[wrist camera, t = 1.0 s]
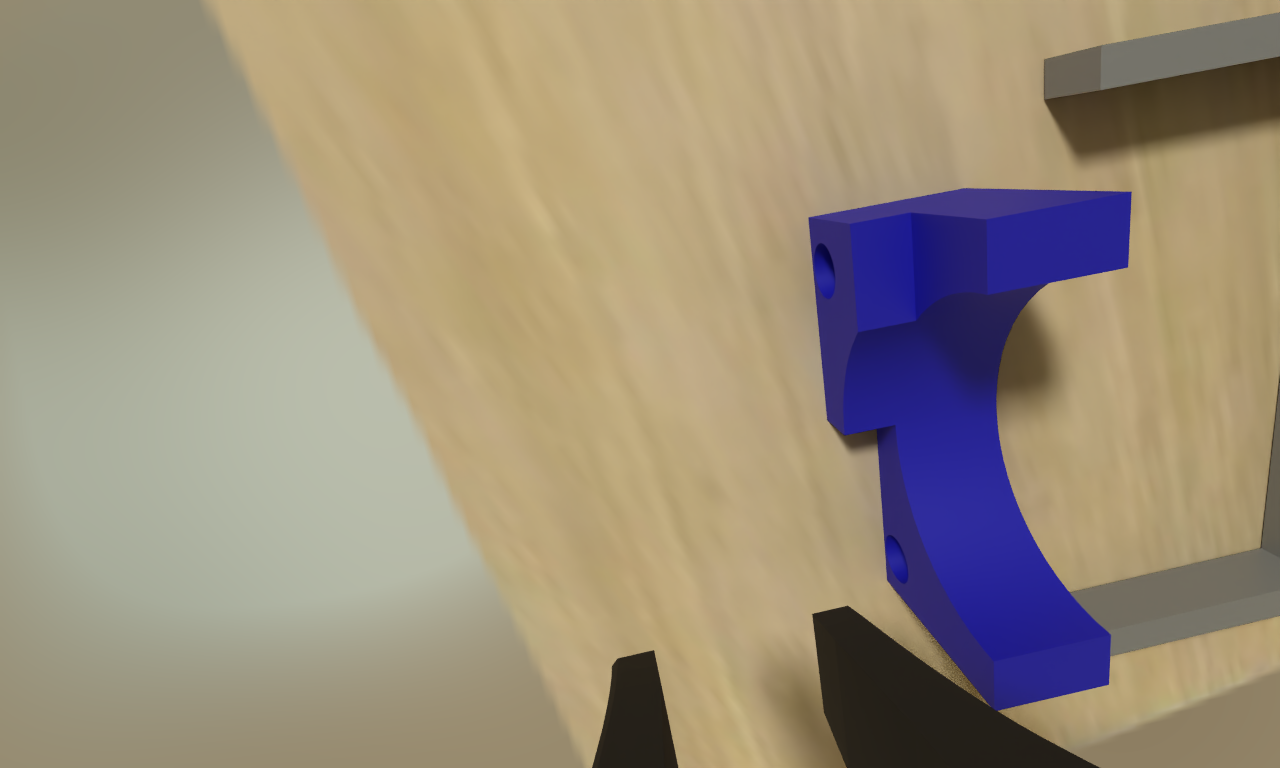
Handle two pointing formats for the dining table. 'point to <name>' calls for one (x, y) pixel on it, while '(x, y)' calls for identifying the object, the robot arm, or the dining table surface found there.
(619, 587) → the dining table surface
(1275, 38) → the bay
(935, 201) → the blue plastic bracket
